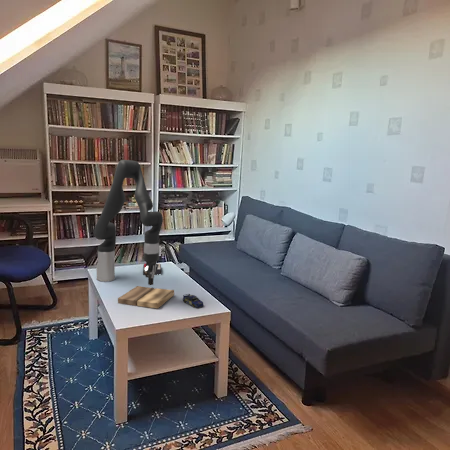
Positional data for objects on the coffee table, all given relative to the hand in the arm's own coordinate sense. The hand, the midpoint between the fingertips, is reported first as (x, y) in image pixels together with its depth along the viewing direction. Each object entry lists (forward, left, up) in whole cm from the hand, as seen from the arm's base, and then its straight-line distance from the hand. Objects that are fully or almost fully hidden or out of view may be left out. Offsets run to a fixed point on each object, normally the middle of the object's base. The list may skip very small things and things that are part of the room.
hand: (150, 284), depth 201 cm
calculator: (-21, +45, -9) cm, 50 cm away
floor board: (-8, 0, -8) cm, 11 cm away
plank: (+3, 0, -8) cm, 8 cm away
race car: (+22, +3, -9) cm, 24 cm away
